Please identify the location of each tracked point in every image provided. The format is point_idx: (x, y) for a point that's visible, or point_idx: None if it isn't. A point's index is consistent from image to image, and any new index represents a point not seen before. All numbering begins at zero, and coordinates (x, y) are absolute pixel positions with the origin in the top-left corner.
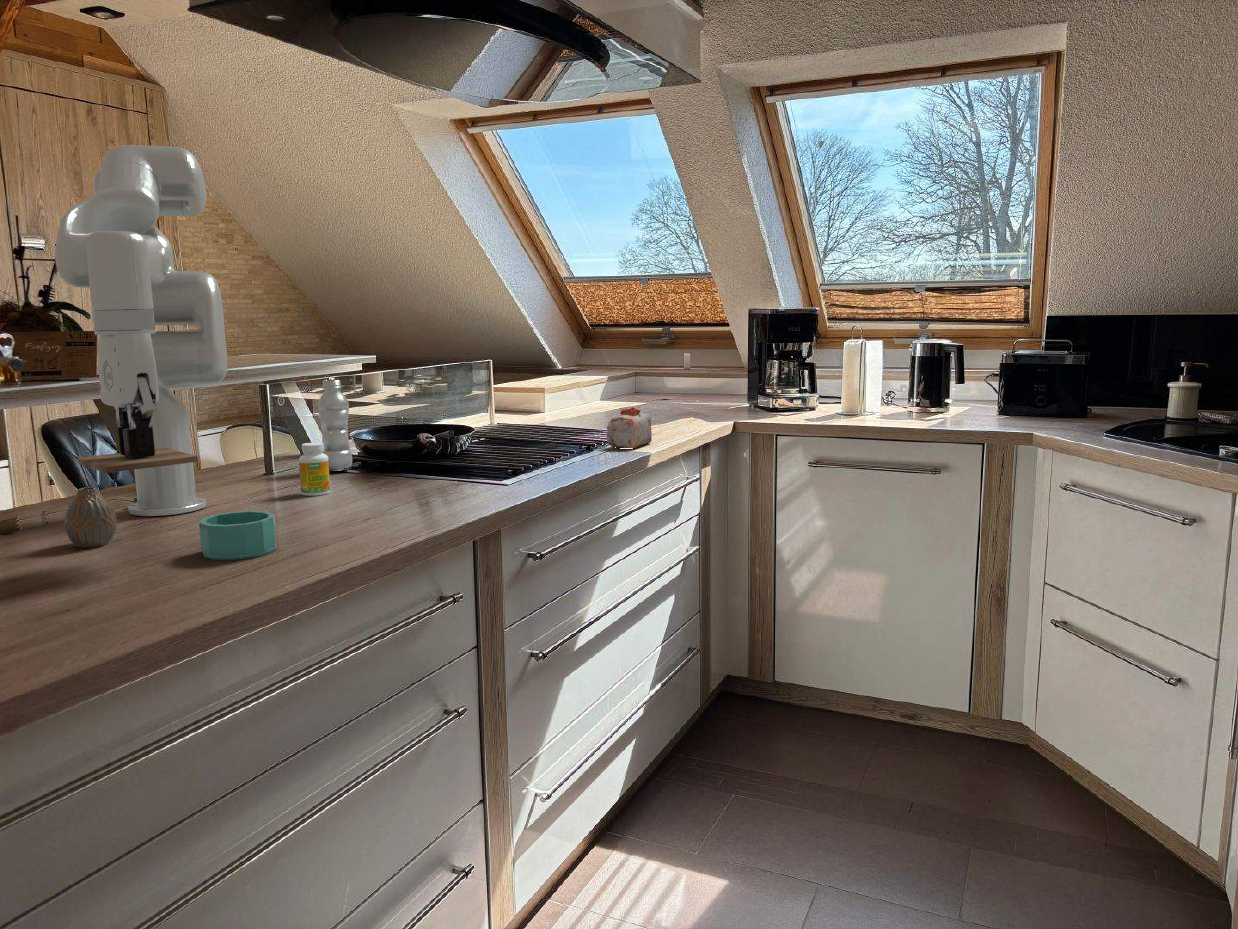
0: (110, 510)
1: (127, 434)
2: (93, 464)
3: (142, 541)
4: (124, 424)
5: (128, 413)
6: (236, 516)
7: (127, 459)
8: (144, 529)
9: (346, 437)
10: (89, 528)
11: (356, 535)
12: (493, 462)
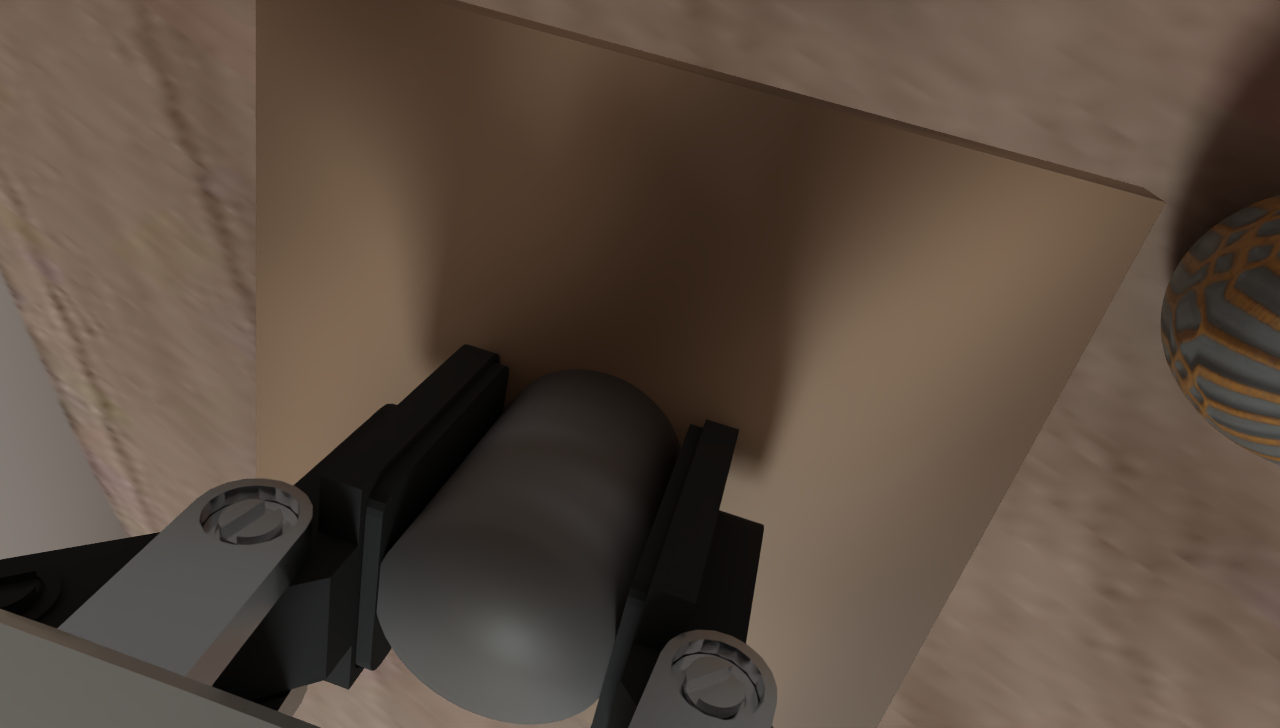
0: (1218, 412)
1: (387, 454)
2: (596, 44)
3: (1048, 417)
4: (633, 670)
5: (165, 638)
6: None
7: (528, 334)
8: (1264, 574)
9: None
10: (1215, 247)
11: (386, 690)
12: None
